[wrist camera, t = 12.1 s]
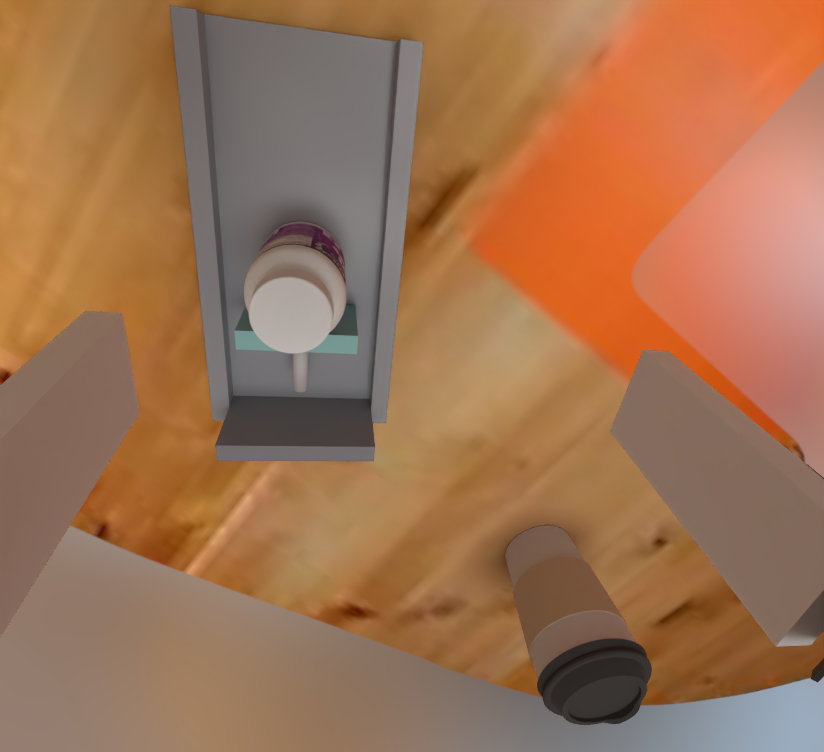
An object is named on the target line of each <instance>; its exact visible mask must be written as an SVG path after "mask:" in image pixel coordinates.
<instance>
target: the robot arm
mask: <svg viewBox="0 0 824 752" xmlns="http://www.w3.org/2000/svg"><path fill="white" fill-rule="evenodd" d="M139 413H140V412H139V407H138V401H137V395H136V389H135V383H134V377H133V372H132V366H131V360H130V354H129V348H128V342H127V337H126V331H125V325H124V319H123V313H110V312H95V311H85V312H84V313H83V314H81V315H80V316H79V317H78V318H77V319H76V320H75V321H74V322H72V323H71V324H70V325H69V326H68V327H67V328H66V329H64V330H63V331H62V332H61V333H60V334H59V335H58V336H56V337H55V338H54V339H53V340H52V341H51V342H50V343H48V344H47V345H46V346H45V347H44V348H43V349H42V350H41V351H39V352H38V353H37V354H36V355H35V356H34V357H33V358H31V359H30V360H29V361H28V362H27V363H26V364H25V365H23V366H22V367H21V368H20V369H19V370H18V371H17V372H16V373H14V374H13V375H12V376H11V377H10V378H9V379H8V380H6V381H5V382H4V383H3V384H2V385H1V386H0V637H1V636H2V634H3V633H4V631H5V629H6V628H7V626H8V625H9V623H10V621H11V620H12V618H13V616H14V615H15V613H16V612H17V610H18V608H19V607H20V605H21V603H22V602H23V600H24V599H25V597H26V595H27V594H28V592H29V590H30V589H31V587H32V586H33V584H34V583H35V581H36V579H37V578H38V576H39V574H40V573H41V571H42V570H43V568H44V566H45V565H46V563H47V562H48V560H49V558H50V557H51V555H52V554H53V552H54V550H55V549H56V547H57V545H58V544H59V542H60V541H61V539H62V537H63V536H64V534H65V533H66V531H67V529H68V528H69V526H70V524H71V523H72V521H73V520H74V518H75V516H76V515H77V513H78V512H79V510H80V508H81V507H82V505H83V504H84V502H85V500H86V499H87V497H88V495H89V494H90V492H91V491H92V489H93V487H94V486H95V484H96V483H97V481H98V479H99V478H100V476H101V474H102V473H103V471H104V470H105V468H106V466H107V465H108V463H109V462H110V460H111V458H112V457H113V455H114V453H115V452H116V450H117V449H118V447H119V445H120V444H121V442H122V441H123V439H124V437H125V436H126V434H127V433H128V431H129V429H130V428H131V426H132V424H133V423H134V421H135V420H136V418H137V416H138V415H139ZM610 432H611V433H612V434H613V435H614V437H615V438H616V439H617V441H618V442H619V443H620V445H621V446H622V447H623V448H624V450H625V451H626V452H627V454H628V455H629V456H630V458H631V459H632V460H633V461H634V463H635V464H636V465H637V467H638V468H639V469H640V471H641V472H642V473H643V474H644V476H645V477H646V478H647V480H648V481H649V482H650V484H651V485H652V486H653V487H654V489H655V490H656V491H657V493H658V494H659V495H660V497H661V498H662V499H663V500H664V502H665V503H666V504H667V506H668V507H669V508H670V510H671V511H672V512H673V513H674V515H675V516H676V517H677V519H678V520H679V521H680V523H681V524H682V525H683V526H684V528H685V529H686V530H687V532H688V533H689V534H690V536H691V537H692V538H693V539H694V541H695V542H696V543H697V545H698V546H699V547H700V549H701V550H702V551H703V552H704V554H705V555H706V556H707V558H708V559H709V560H710V562H711V563H712V564H713V566H714V567H715V568H716V569H717V571H718V572H719V573H720V575H721V576H722V577H723V579H724V580H725V581H726V582H727V584H728V585H729V586H730V588H731V589H732V590H733V592H734V593H735V594H736V595H737V597H738V598H739V599H740V601H741V602H742V603H743V605H744V606H745V607H746V608H747V610H748V611H749V612H750V614H751V615H752V616H753V618H754V619H755V620H756V621H757V623H758V624H759V625H760V627H761V628H762V629H763V631H764V632H765V633H766V634H767V636H768V637H769V638H770V640H771V641H772V642H773V644H774V645H775V646H798V645H811V644H812V643H813V642H814V641H815V640H816V639H817V637H818V636H819V635H820V634H821V633H822V632H823V631H824V478H823V477H822V476H821V475H819V474H818V473H817V472H816V471H815V470H813V469H812V468H811V467H810V466H809V465H807V464H805V463H804V462H802V461H801V460H800V459H799V458H798V457H796V456H795V455H794V454H793V453H792V452H790V451H789V450H788V449H787V448H785V447H784V446H783V445H782V444H781V443H779V442H778V441H777V440H776V439H774V438H773V437H772V436H771V435H770V434H768V433H767V432H766V431H765V430H764V429H762V428H761V427H760V426H759V425H757V424H756V423H755V422H754V421H753V420H751V419H750V418H749V417H748V416H747V415H745V414H744V413H743V412H742V411H740V410H739V409H738V408H737V407H736V406H734V405H733V404H732V403H731V402H729V401H728V400H727V399H726V398H725V397H723V396H722V395H721V394H720V393H719V392H717V391H716V390H715V389H714V388H712V387H711V386H710V385H709V384H708V383H706V382H705V381H704V380H703V379H701V378H700V377H699V376H698V375H697V374H695V373H694V372H693V371H692V370H691V369H689V368H688V367H687V366H686V365H684V364H683V363H682V362H681V361H680V360H678V359H677V358H676V357H675V356H674V355H672V354H671V353H670V352H669V351H656V350H643V352H642V354H641V357H640V359H639V361H638V364H637V366H636V369H635V371H634V374H633V376H632V378H631V381H630V383H629V386H628V388H627V391H626V393H625V396H624V398H623V400H622V403H621V405H620V408H619V410H618V413H617V415H616V417H615V420H614V422H613V425H612V427H611V430H610ZM823 676H824V659H823V660H822V661H821V662H820V663H819V664H818V665H817V666H816V667H815V668H814V669H813V671H812V676H811V679H812V680H814V681H816V682H819V681H820V680H821V678H823Z"/></svg>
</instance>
